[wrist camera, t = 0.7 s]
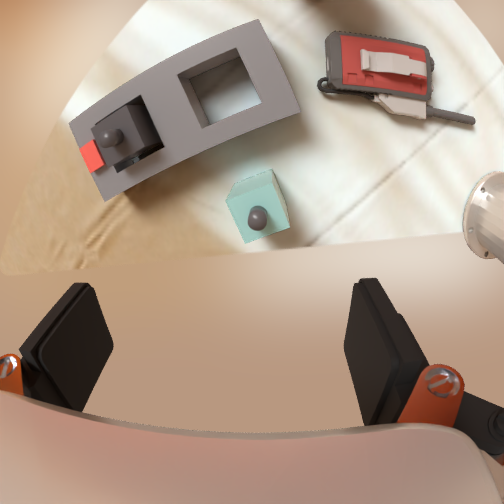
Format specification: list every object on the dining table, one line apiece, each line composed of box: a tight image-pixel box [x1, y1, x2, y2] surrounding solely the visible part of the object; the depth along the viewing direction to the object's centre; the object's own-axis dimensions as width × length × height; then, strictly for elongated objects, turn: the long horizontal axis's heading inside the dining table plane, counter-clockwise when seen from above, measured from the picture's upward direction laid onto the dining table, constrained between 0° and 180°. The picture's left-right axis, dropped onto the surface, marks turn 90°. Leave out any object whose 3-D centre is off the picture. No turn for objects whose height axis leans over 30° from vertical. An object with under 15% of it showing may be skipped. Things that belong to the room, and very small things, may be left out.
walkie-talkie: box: [317, 31, 475, 125], centre depth 25 cm, size 9×4×20 cm
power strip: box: [69, 19, 301, 201], centre depth 26 cm, size 22×10×9 cm, turn 113°
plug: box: [226, 169, 290, 244], centre depth 29 cm, size 4×4×9 cm
